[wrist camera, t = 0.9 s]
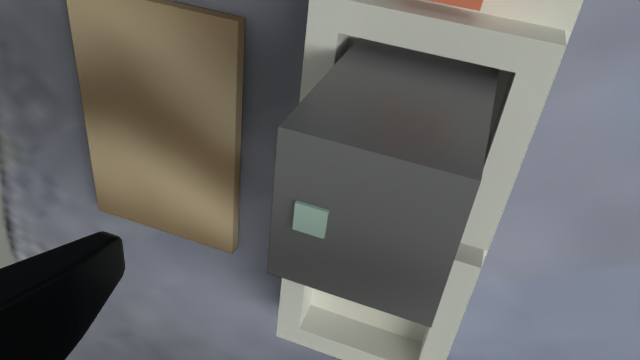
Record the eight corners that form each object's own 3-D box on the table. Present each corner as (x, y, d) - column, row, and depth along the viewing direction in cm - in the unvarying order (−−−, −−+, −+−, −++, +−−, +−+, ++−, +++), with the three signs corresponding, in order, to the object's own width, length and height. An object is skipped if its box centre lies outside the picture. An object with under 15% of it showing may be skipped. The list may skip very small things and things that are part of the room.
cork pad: (237, 246, 28) (232, 253, 27) (105, 203, 29) (98, 209, 29) (244, 17, 21) (238, 21, 21) (73, -22, 23) (63, -19, 22)
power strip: (441, 351, 27) (428, 420, 24) (299, 302, 28) (269, 361, 25) (590, -54, 16) (604, -28, 13) (350, -94, 18) (310, -81, 15)
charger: (462, 183, 19) (430, 330, 13) (343, 150, 20) (265, 275, 14) (500, 65, 16) (480, 183, 11) (362, 34, 17) (276, 128, 12)
